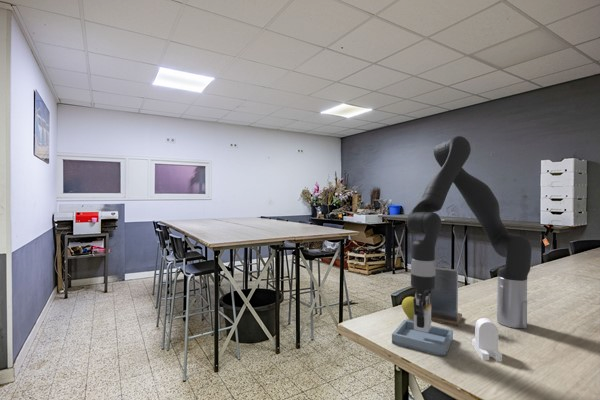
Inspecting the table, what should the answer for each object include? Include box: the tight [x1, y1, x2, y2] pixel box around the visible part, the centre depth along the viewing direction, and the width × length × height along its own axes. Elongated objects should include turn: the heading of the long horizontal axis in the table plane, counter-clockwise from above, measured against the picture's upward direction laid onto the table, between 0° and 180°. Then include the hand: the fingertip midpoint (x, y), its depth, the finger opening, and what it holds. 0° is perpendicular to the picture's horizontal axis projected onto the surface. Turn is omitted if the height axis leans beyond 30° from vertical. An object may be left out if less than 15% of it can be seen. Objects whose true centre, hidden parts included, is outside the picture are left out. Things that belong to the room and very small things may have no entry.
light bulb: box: [401, 296, 415, 322], centre depth 120 cm, size 7×7×10 cm
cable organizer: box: [471, 317, 503, 362], centre depth 98 cm, size 5×10×10 cm, turn 169°
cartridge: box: [414, 304, 432, 333], centre depth 106 cm, size 4×4×8 cm
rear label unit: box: [430, 266, 463, 327], centre depth 126 cm, size 16×10×20 cm, turn 56°
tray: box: [391, 319, 454, 358], centre depth 106 cm, size 16×14×3 cm
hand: (422, 324), depth 106 cm, fingers closed on cartridge, 4 cm apart
